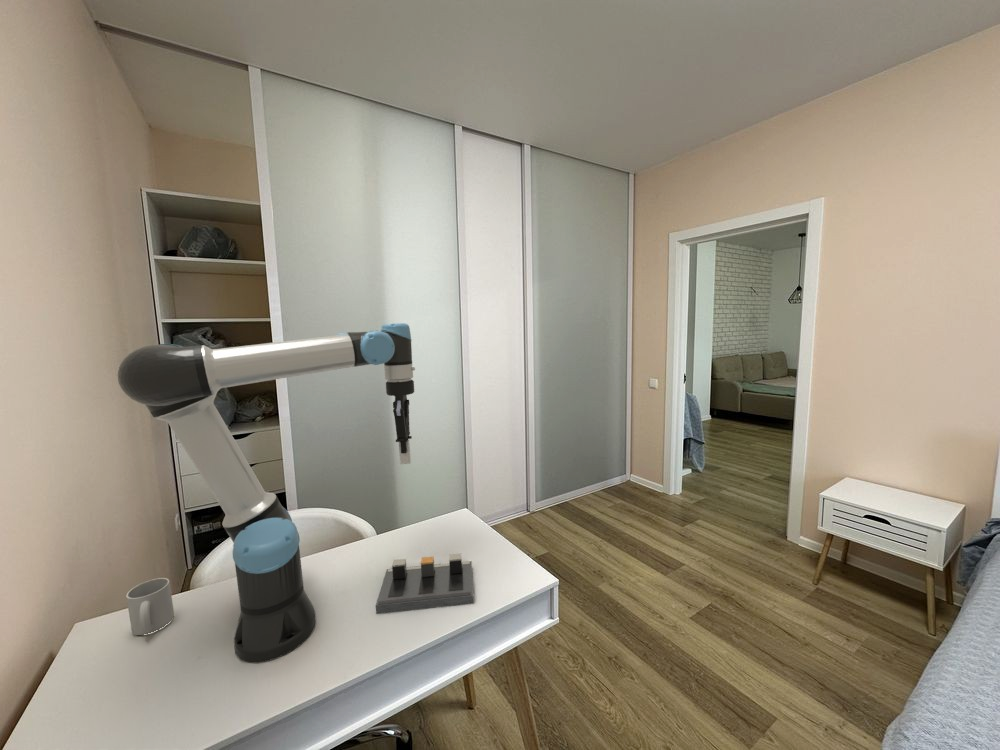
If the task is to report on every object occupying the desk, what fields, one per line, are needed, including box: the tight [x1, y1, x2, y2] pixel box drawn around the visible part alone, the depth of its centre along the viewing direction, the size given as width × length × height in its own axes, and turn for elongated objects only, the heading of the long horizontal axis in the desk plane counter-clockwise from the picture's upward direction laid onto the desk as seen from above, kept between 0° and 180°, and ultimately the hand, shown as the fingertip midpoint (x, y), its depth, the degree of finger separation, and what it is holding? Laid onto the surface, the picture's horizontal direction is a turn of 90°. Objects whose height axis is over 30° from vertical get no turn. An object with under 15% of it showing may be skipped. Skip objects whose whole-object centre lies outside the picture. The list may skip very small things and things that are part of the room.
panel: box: [375, 553, 475, 615], centre depth 98 cm, size 22×14×6 cm, turn 96°
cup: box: [125, 577, 175, 636], centre depth 88 cm, size 7×10×9 cm
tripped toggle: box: [420, 556, 435, 577], centre depth 100 cm, size 3×2×4 cm
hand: (405, 463), depth 112 cm, fingers closed
